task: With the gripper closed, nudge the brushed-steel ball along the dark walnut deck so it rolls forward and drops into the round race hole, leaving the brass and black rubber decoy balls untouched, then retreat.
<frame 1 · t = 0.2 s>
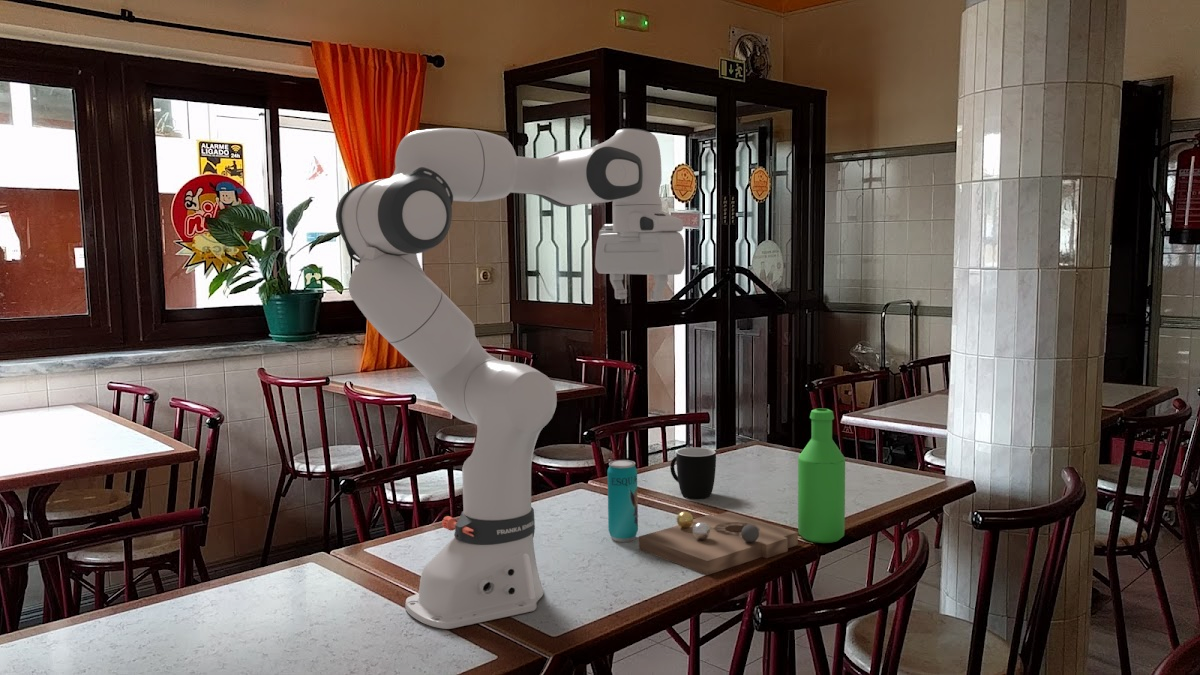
hand: (638, 299, 165), 47 cm above the table, fingers open, 8 cm apart
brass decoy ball: (684, 519, 177), point 4 cm above the table, touching deck
beverage can: (623, 539, 179), on the table
bottle: (821, 538, 177), on the table
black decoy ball: (750, 533, 167), point 4 cm above the table, touching deck
steel ball: (701, 530, 170), point 4 cm above the table, touching deck
deck: (718, 547, 173), on the table
mug: (691, 495, 210), on the table
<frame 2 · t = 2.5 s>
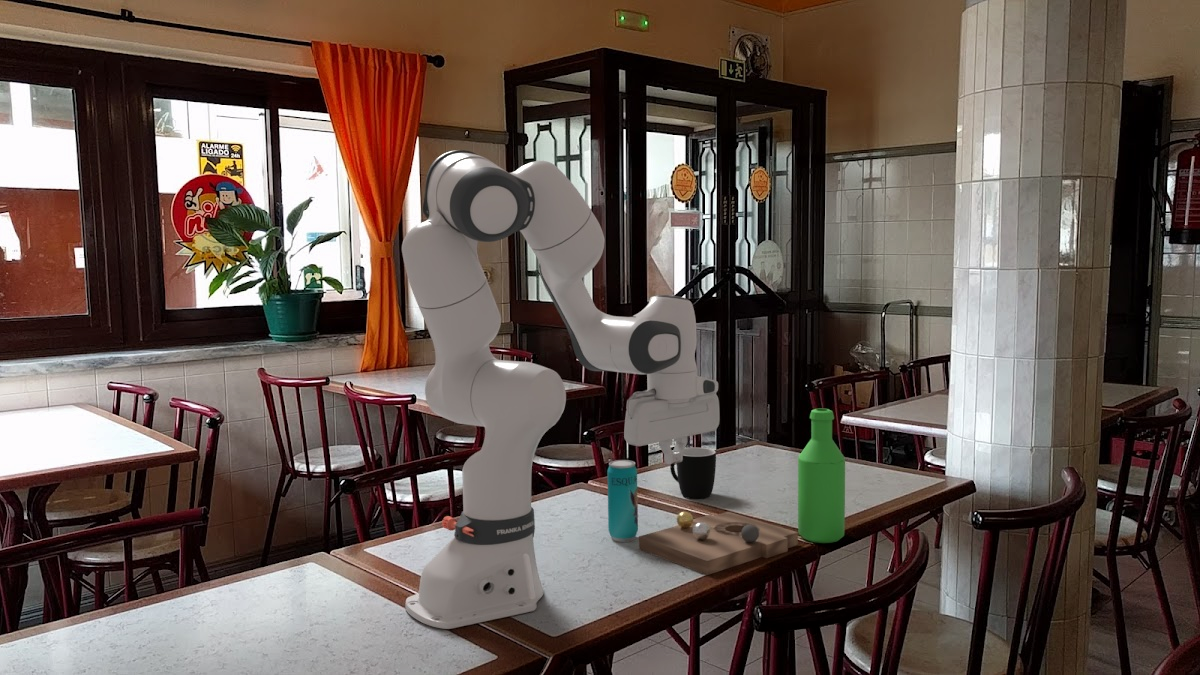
hand: (673, 462, 164), 18 cm above the table, fingers closed
nothing on the table moved.
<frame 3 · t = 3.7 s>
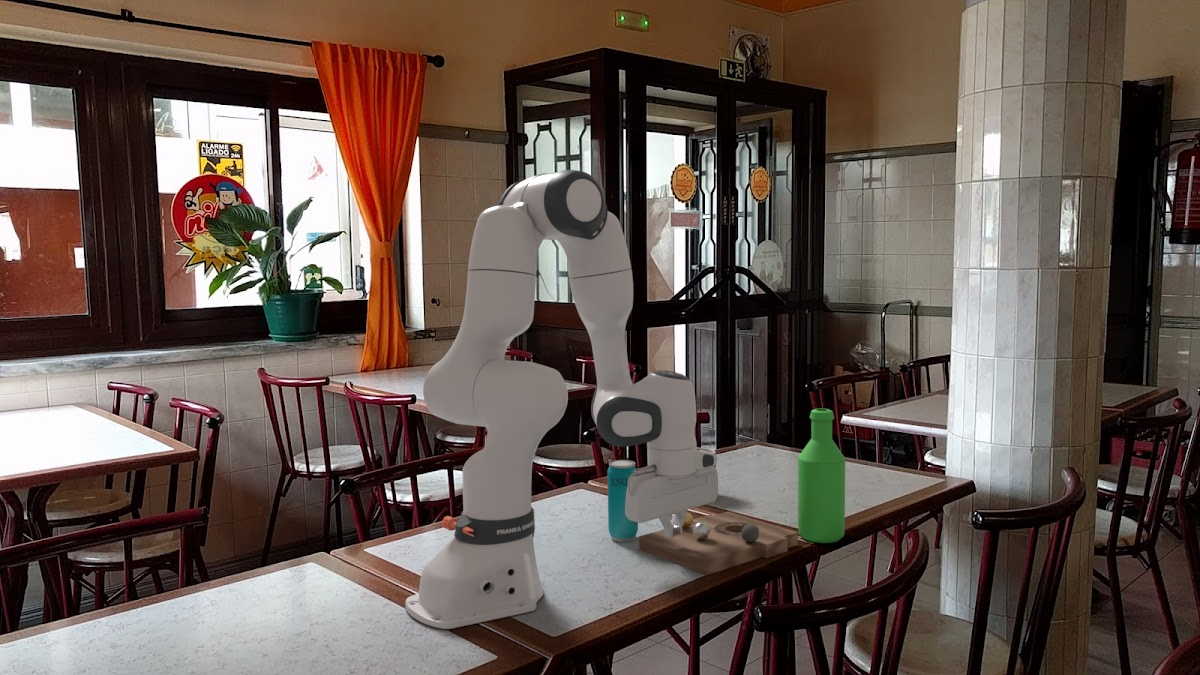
hand: (673, 535, 166), 5 cm above the table, fingers closed
nothing on the table moved.
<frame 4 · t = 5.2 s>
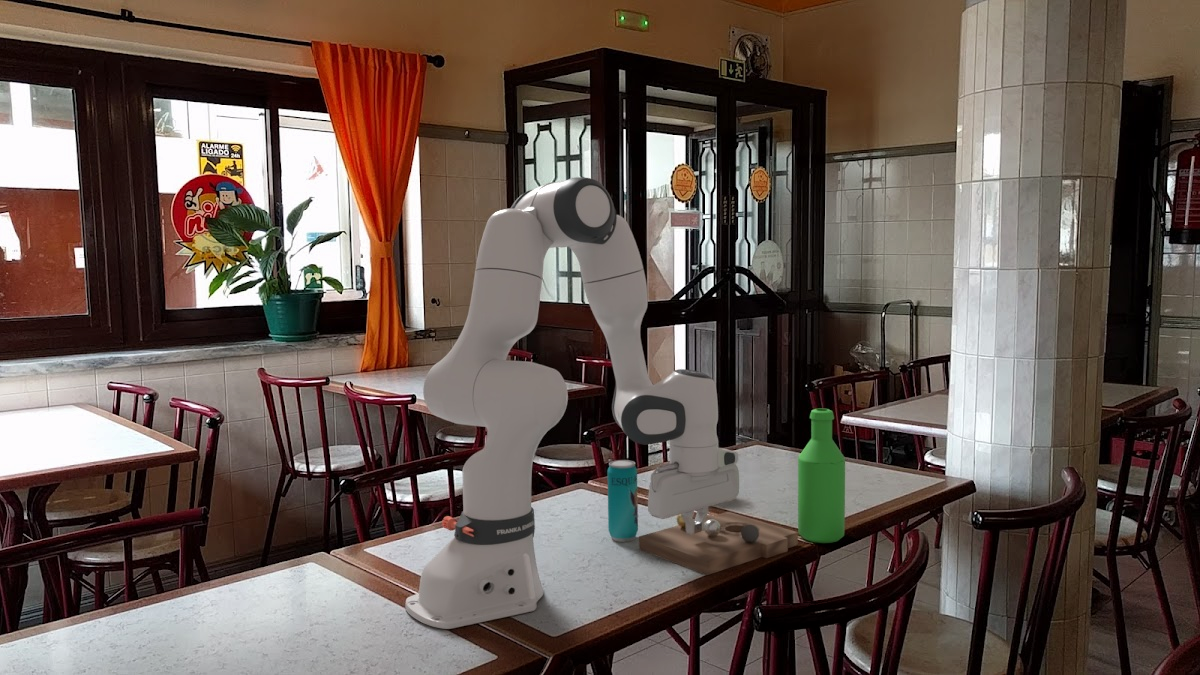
hand: (694, 532, 168), 4 cm above the table, fingers closed
steel ball: (712, 527, 171), point 4 cm above the table, tilted 82°, touching deck
everything else where it was.
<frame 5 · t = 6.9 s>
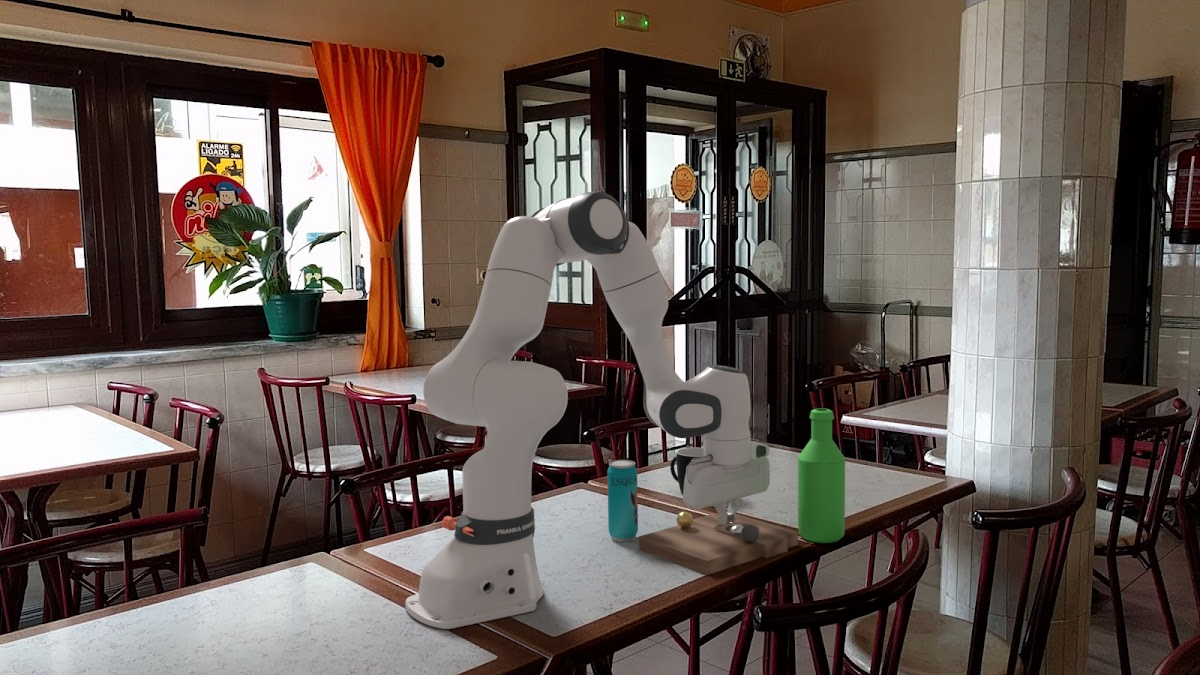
hand: (727, 522, 174), 4 cm above the table, fingers closed
steel ball: (737, 533, 176), point 2 cm above the table, tilted 50°
everything else where it was.
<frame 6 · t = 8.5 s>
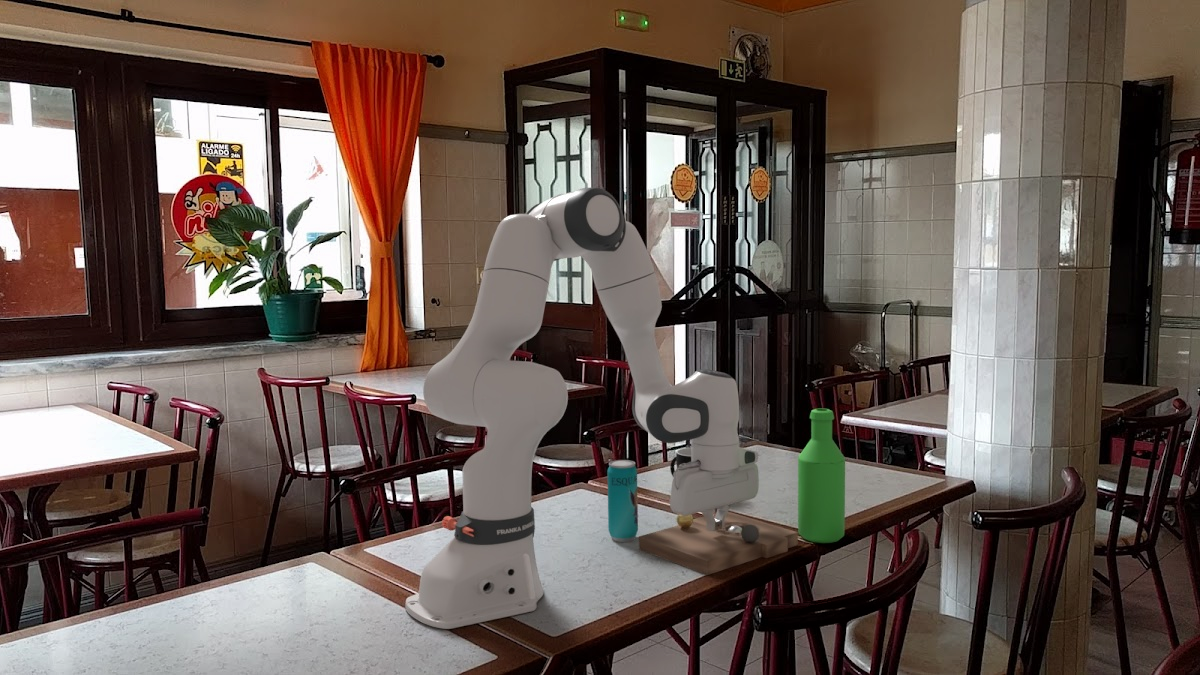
hand: (715, 529, 172), 4 cm above the table, fingers closed
steel ball: (735, 533, 175), point 2 cm above the table, tilted 28°
everything else where it was.
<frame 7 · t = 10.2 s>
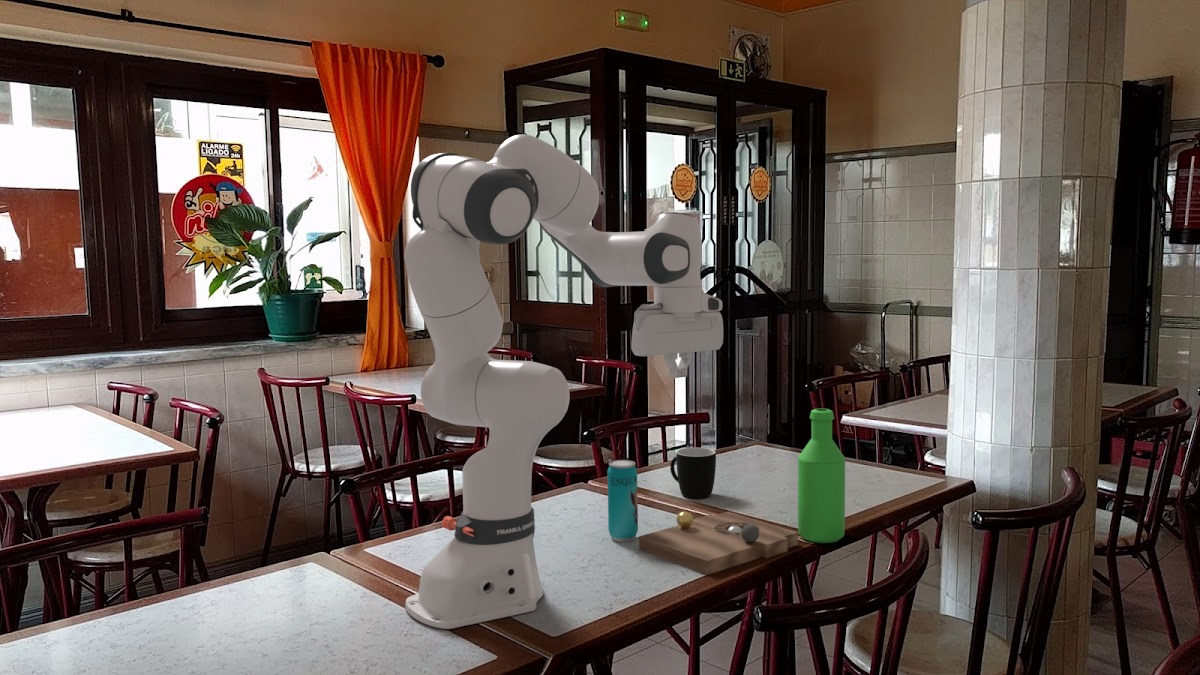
hand: (678, 377, 169), 32 cm above the table, fingers closed
steel ball: (734, 534, 175), point 2 cm above the table, tilted 23°
everything else where it was.
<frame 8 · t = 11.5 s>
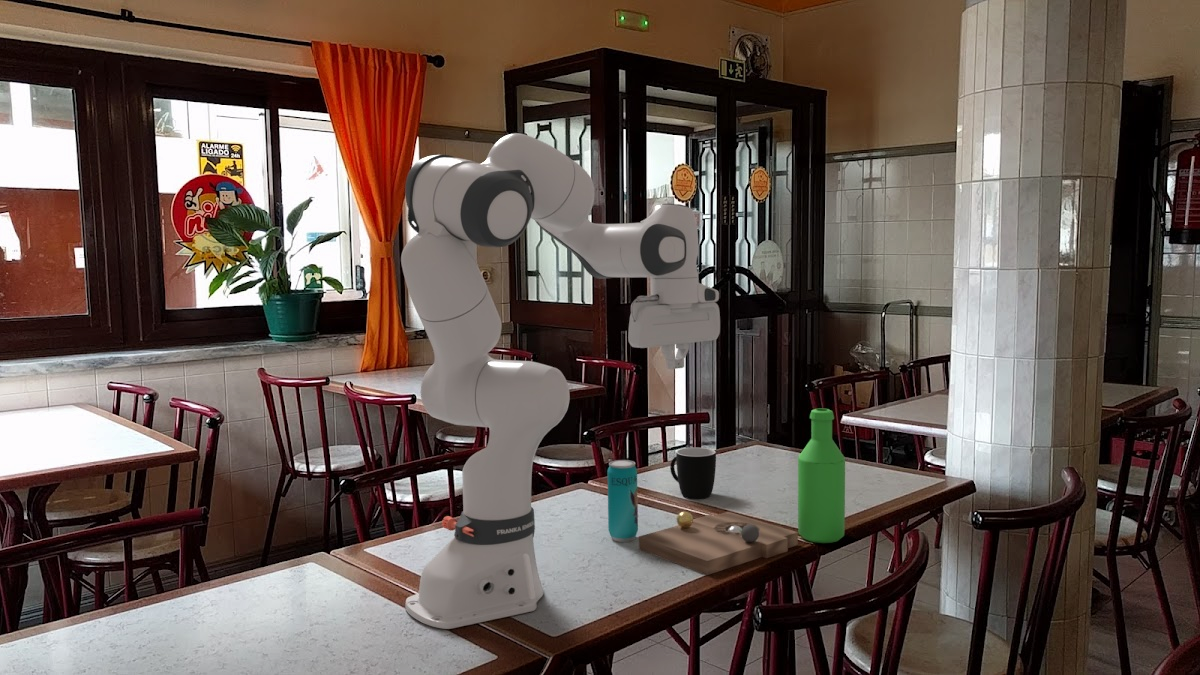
hand: (675, 368, 169), 34 cm above the table, fingers closed
nothing on the table moved.
at the end: steel ball 0.4 cm from the target spot in the deck, point 1.6 cm above the deck's base; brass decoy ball moved 0.1 cm from its start; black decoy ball moved 0.1 cm from its start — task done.
